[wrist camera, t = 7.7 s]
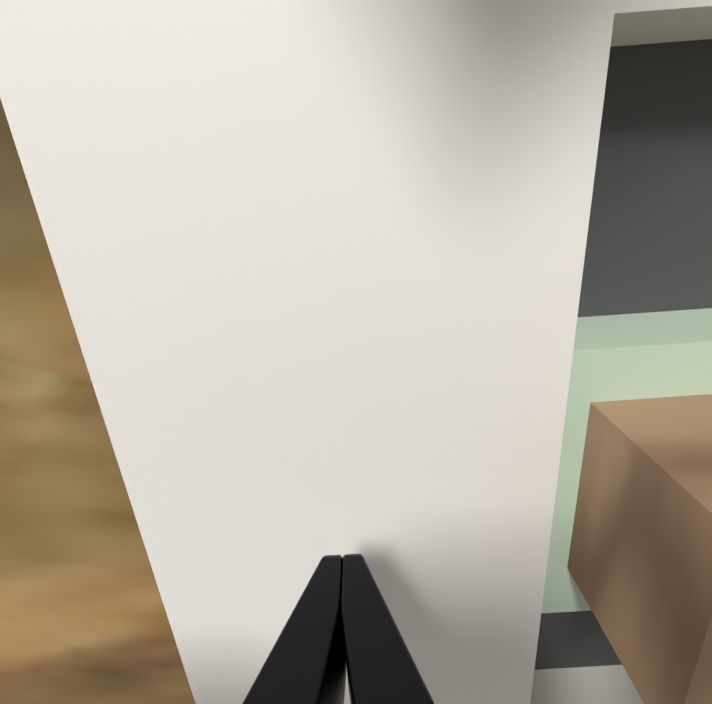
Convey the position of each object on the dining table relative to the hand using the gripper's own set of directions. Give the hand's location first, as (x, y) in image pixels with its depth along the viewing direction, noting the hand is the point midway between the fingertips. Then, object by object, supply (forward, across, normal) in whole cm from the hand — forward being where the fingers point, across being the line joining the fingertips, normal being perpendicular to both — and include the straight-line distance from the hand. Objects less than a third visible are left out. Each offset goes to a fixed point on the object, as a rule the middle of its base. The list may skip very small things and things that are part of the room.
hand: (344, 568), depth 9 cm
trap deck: (+4, -4, 0) cm, 6 cm away
